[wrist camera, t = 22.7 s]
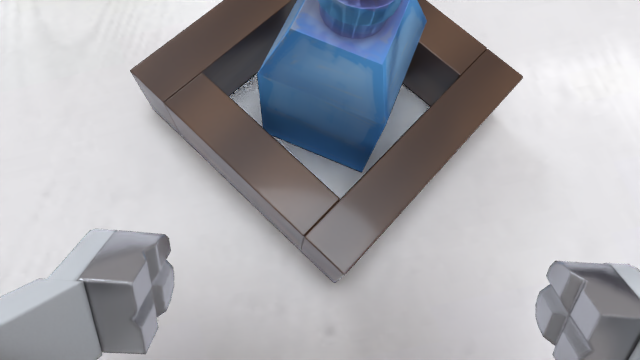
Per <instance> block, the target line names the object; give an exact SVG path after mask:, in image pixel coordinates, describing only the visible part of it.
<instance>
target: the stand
mask: <svg viewBox="0 0 640 360" xmlns="http://www.w3.org/2000/svg"><path fill="white" fill-rule="evenodd" d="M296 1H297V0H223V1H222V2H221V3H219V4H218V5H217V6H215V7H214V8H213V9H211V10H210V11H209V12H207V13H206V14H205V15H203V16H202V17H201V18H199V19H198V20H197V21H195V22H194V23H193V24H191V25H190V26H189V27H187V28H186V29H185V30H183V31H182V32H181V33H179V34H178V35H177V36H175V37H174V38H173V39H171V40H170V41H169V42H167V43H166V44H165V45H163V46H162V47H161V48H159V49H158V50H157V51H155V52H154V53H153V54H151V55H150V56H149V57H147V58H146V59H145V60H143V61H142V62H140V63H139V64H138V65H136V66H135V67H134V68H132V69H131V70H130V72H131V73H132V75H133V77H134V78H135V80H136V82H137V83H138V85H139V87H140V88H141V90H142V92H143V93H144V95H145V97H146V98H147V100H148V101H149V103H150V105H151V106H152V108H153V109H154V110H155V111H156V112H157V113H158V114H159V115H160V116H161V117H162V118H163V119H164V120H165V121H166V122H167V123H168V124H169V125H170V126H171V127H172V128H173V129H175V130H176V131H177V132H178V133H179V134H180V135H181V136H182V137H183V138H184V139H185V140H186V141H187V142H188V143H189V144H190V145H191V146H192V147H193V148H194V149H195V150H196V151H197V152H199V153H200V154H201V155H202V156H203V157H204V158H205V159H206V160H207V161H208V162H209V163H210V164H211V165H212V166H213V167H214V168H215V169H216V170H217V171H218V172H219V173H220V174H221V175H222V176H223V177H224V178H225V179H227V180H228V181H229V182H230V183H231V184H232V185H233V186H234V187H235V188H236V189H237V190H238V191H239V192H240V193H241V194H242V195H243V196H244V197H245V198H246V199H247V200H248V201H249V202H250V203H251V204H252V205H254V206H255V207H256V208H257V209H258V210H259V211H260V212H261V213H262V214H263V215H264V216H265V217H266V218H267V219H268V220H269V221H270V222H271V223H272V224H273V225H274V226H275V227H276V228H277V229H278V230H279V231H281V232H282V233H283V234H284V235H285V236H286V237H287V238H288V239H289V240H290V241H291V242H292V243H293V244H294V245H295V246H296V247H297V248H298V249H299V250H301V251H302V253H303V254H304V255H305V256H306V257H307V258H309V259H310V260H311V261H312V262H313V263H314V264H315V265H316V266H317V267H318V268H319V269H320V270H321V271H322V272H323V273H324V274H325V275H326V276H327V277H328V278H329V279H330V280H331V281H332V282H334V283H336V282H337V281H338V280H339V279H341V278H342V277H343V276H344V275H345V274H346V273H347V272H348V271H349V270H350V269H351V268H352V267H353V266H354V265H355V263H356V262H357V261H358V260H359V259H360V258H361V257H362V256H363V255H364V253H365V252H366V251H367V250H368V249H369V248H370V247H371V246H372V245H373V243H374V242H375V241H376V240H377V239H378V238H379V237H380V236H381V235H382V234H383V232H384V231H385V230H386V229H387V228H388V227H389V226H390V225H391V224H392V222H393V221H394V220H395V219H396V218H397V217H398V216H399V215H400V214H401V213H402V211H403V210H404V209H405V208H406V207H407V206H408V205H409V204H410V203H411V201H412V200H413V199H414V198H415V197H416V196H417V195H418V194H419V193H420V191H421V190H422V189H423V188H424V187H425V186H426V185H427V184H428V183H429V182H430V180H431V179H432V178H433V177H434V176H435V175H436V174H437V173H438V172H439V170H440V169H441V168H442V167H443V166H444V165H445V164H446V163H447V162H448V160H449V159H450V158H451V157H452V156H453V155H454V154H455V153H456V152H457V151H458V149H459V148H460V147H461V146H462V145H463V144H464V143H465V142H466V141H467V139H468V138H469V137H470V136H471V135H472V134H473V133H474V132H475V131H476V129H477V128H478V127H479V126H480V125H481V124H482V123H483V122H484V121H485V120H486V118H487V117H488V116H489V115H490V114H491V113H492V112H493V111H494V110H495V108H496V107H497V106H498V105H499V104H500V103H501V102H502V101H503V100H504V98H505V97H506V96H507V95H508V94H509V93H510V92H511V91H512V90H513V89H514V87H515V86H516V85H517V84H518V83H519V82H520V81H521V80H522V79H523V76H522V75H521V74H519V73H518V72H517V71H515V70H514V69H513V68H512V67H510V66H509V65H508V64H506V63H505V62H504V61H503V60H501V59H500V58H499V57H498V56H496V55H495V54H494V53H492V52H491V51H490V50H489V49H487V48H486V47H485V46H484V45H483V44H481V43H480V42H479V41H478V40H476V39H475V38H474V37H472V36H471V35H470V34H469V33H467V32H466V31H465V30H463V29H462V28H461V27H460V26H458V25H457V24H456V23H454V22H453V21H452V20H451V19H449V18H448V17H447V16H446V15H444V14H443V13H442V12H440V11H439V10H438V9H437V8H435V7H434V6H433V5H431V4H430V3H429V2H428V1H426V0H417V1H418V3H419V5H420V7H421V9H422V11H423V13H424V15H425V18H426V20H427V22H426V24H425V27H424V29H423V32H422V35H421V37H420V40H419V42H418V45H417V47H416V50H415V52H414V55H413V57H412V60H411V62H410V65H409V67H408V70H407V72H406V75H405V77H404V80H403V82H402V83H403V84H405V85H406V86H407V87H408V88H409V89H411V90H412V91H413V92H414V93H415V94H417V95H418V96H419V97H420V98H421V99H423V100H424V101H425V102H426V103H427V104H429V105H430V106H431V107H430V108H429V109H428V110H427V111H426V112H425V113H424V114H423V115H422V116H421V117H420V118H419V119H418V120H417V121H416V122H415V123H414V124H413V125H412V126H411V127H410V128H409V129H408V130H407V131H406V132H405V133H404V134H403V135H402V137H401V138H400V139H399V140H398V141H397V142H396V143H395V144H394V145H393V146H392V147H391V148H390V149H389V150H388V151H387V152H386V153H385V154H384V155H383V156H382V157H381V158H380V159H379V160H378V161H377V162H376V163H375V164H374V165H373V166H372V167H371V168H370V169H369V170H368V171H367V172H366V174H365V175H364V176H363V177H362V178H361V179H360V180H359V181H358V182H357V183H356V184H355V185H354V186H353V187H352V188H351V189H350V190H349V191H348V192H347V193H346V194H345V195H344V196H343V197H342V198H341V199H339V197H338V196H336V195H335V194H334V193H333V192H332V191H331V190H330V189H329V188H328V187H327V186H326V185H324V184H323V183H322V182H321V181H320V180H319V179H318V178H317V177H316V176H315V175H314V174H312V173H311V172H310V171H309V170H308V169H307V168H306V167H305V166H304V165H303V164H302V163H301V162H299V161H298V160H297V159H296V158H295V157H294V156H293V155H292V154H291V153H290V152H289V151H287V150H286V149H285V148H284V147H283V146H282V145H281V144H280V143H279V142H278V141H277V140H275V139H274V138H273V137H272V136H271V135H270V134H269V133H268V132H267V131H266V130H265V129H263V128H262V127H261V126H260V125H259V124H258V123H257V122H256V121H255V120H254V119H253V118H251V117H250V116H249V115H248V114H247V113H246V112H245V111H244V110H243V109H242V108H241V107H239V106H238V105H237V104H236V103H235V102H234V101H233V100H232V99H231V98H230V97H229V96H230V95H231V94H232V93H233V92H234V91H236V90H237V89H238V88H239V87H240V86H241V85H243V84H244V83H245V82H246V81H247V80H249V79H250V78H251V77H252V76H253V75H255V74H256V73H257V72H258V71H259V70H260V68H261V66H262V64H263V62H264V60H265V59H266V57H267V55H268V53H269V51H270V49H271V47H272V46H273V44H274V42H275V40H276V38H277V36H278V34H279V33H280V31H281V29H282V27H283V25H284V23H285V21H286V20H287V18H288V16H289V14H290V12H291V10H292V8H293V6H294V5H295V3H296Z"/></svg>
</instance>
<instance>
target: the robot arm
mask: <svg viewBox="0 0 640 360" xmlns="http://www.w3.org/2000/svg"><path fill="white" fill-rule="evenodd" d="M170 251H171V248H170V242H169V238H168V237H167V236H166V235H165V234H155V233H144V232H133V231H121V230H119V231H117V230H107V229H93V230H90V231H89V232H88V233H87V234H86V235H85V236H84V237H83V239H82V240H81V241H80V242H79V243H78V244H77V245H76V247H75V248H74V249H73V250H72V251H71V252H70V253H69V254H68V256H67V257H66V258H65V259H64V260H63V261H62V262H61V264H60V265H59V266H58V267H57V268H56V269H55V270H54V272H53V273H52V274H51V275H50V276H49V277H48V278H47V279H37V280H35V281H33V282H31V283H29V284H26V285H24V286H22V287H20V288H18V289H16V290H14V291H12V292H10V293H7V294H5V295H3V296H1V297H0V360H97V359H98V358H99V357H100V356H102V352H103V353H128V354H146V353H147V351H148V349H149V347H150V344H151V342H152V340H153V338H154V336H155V334H156V332H157V330H158V322H157V317H158V316H160V315H161V314H163V313H164V312H166V310H167V308H168V306H169V304H170V301H171V298H172V293H173V289H174V270H173V267H172V265H171V264H170V263H169V262H168V261H167V260H166V259H167V257H168V255H169V253H170ZM546 277H547V279H548V281H549V283H550V285H548V286H547V287H546V288H544V289H543V290H542V291H540V292H539V295H538V298H537V301H536V320H537V324H538V327H539V329H540V331H541V333H542V335H543V337H544V338H546V339H547V340H548V341H550V342H551V343H552V344H554V345H555V349H554V352H553V356H554V358H555V360H640V271H639V269H638V268H636V267H634V266H632V265H630V264H615V263H604V264H598V263H582V262H566V261H555V262H554V263H553V264H552V265H551V266H550V267H549V270H548V272H547V275H546Z"/></svg>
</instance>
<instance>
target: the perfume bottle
mask: <svg viewBox="0 0 640 360" xmlns="http://www.w3.org/2000/svg"><path fill="white" fill-rule="evenodd" d="M426 22H427V20H426V18H425V15H424V13H423V11H422V9H421V7H420V5H419V3H418V1H417V0H297V1H296V3H295V5H294V6H293V8H292V10H291V12H290V14H289V16H288V18H287V20H286V21H285V23H284V25H283V27H282V29H281V31H280V33H279V34H278V36H277V38H276V40H275V42H274V44H273V46H272V47H271V49H270V51H269V53H268V55H267V57H266V59H265V60H264V62H263V64H262V66H261V68H260V70H259V72H258V74H257V76H258V85H259V94H260V104H261V113H262V123H263V129H265V130H266V131H267V132H268V133H269V134H270V135H272V136H275V137H277V138H279V139H282V140H284V141H287V142H289V143H292V144H294V145H296V146H299V147H301V148H304V149H306V150H309V151H311V152H314V153H316V154H318V155H321V156H323V157H326V158H328V159H331V160H333V161H335V162H338V163H340V164H343V165H345V166H348V167H350V168H352V169H355V170H357V171H360V172H362V171H363V169H364V167H365V165H366V163H367V161H368V159H369V157H370V155H371V153H372V151H373V149H374V147H375V145H376V143H377V141H378V139H379V137H380V135H381V133H382V131H383V129H384V127H385V125H386V123H387V120H388V118H389V115H390V113H391V110H392V108H393V105H394V103H395V100H396V98H397V95H398V93H399V90H400V87H401V85H402V82H403V80H404V77H405V75H406V72H407V70H408V67H409V65H410V62H411V60H412V57H413V55H414V52H415V50H416V47H417V45H418V42H419V40H420V37H421V35H422V32H423V29H424V27H425V24H426Z"/></svg>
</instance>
